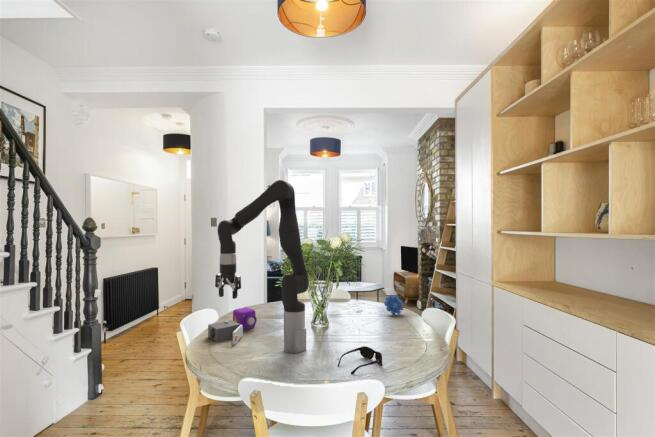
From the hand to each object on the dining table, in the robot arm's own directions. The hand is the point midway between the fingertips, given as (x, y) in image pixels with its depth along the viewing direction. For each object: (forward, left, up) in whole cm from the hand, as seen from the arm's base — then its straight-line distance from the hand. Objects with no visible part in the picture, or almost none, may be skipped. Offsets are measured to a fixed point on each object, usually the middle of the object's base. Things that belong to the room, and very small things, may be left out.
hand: (227, 297), depth 163 cm
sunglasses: (-60, -26, -21) cm, 69 cm away
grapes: (-23, -96, -21) cm, 101 cm away
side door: (-2, -4, -20) cm, 21 cm away
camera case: (+8, -2, -21) cm, 22 cm away
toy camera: (+14, -17, -21) cm, 30 cm away
